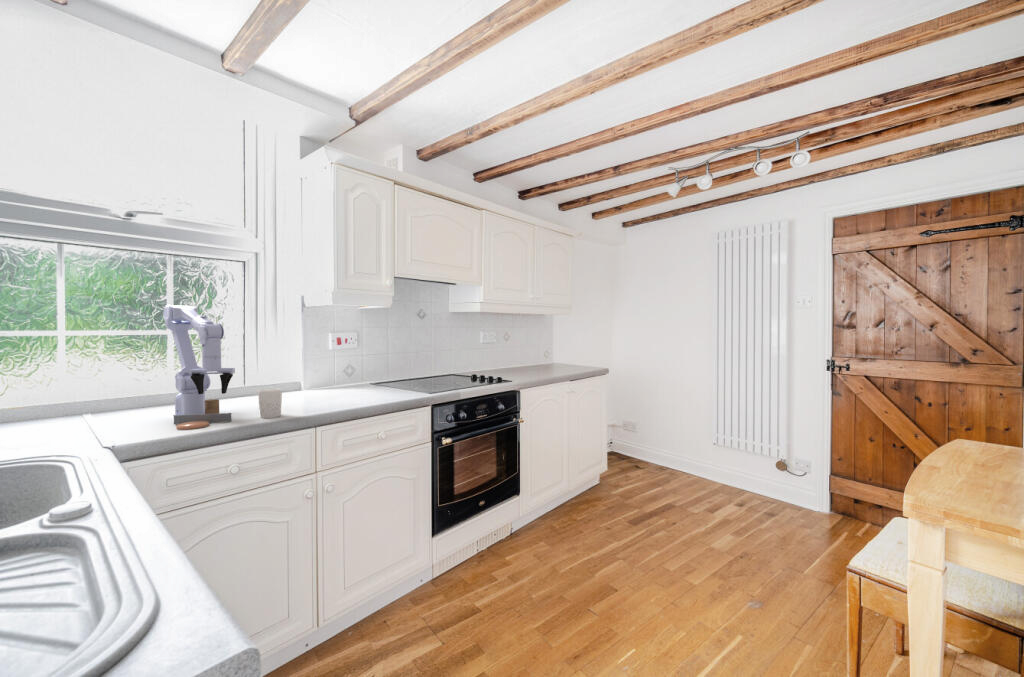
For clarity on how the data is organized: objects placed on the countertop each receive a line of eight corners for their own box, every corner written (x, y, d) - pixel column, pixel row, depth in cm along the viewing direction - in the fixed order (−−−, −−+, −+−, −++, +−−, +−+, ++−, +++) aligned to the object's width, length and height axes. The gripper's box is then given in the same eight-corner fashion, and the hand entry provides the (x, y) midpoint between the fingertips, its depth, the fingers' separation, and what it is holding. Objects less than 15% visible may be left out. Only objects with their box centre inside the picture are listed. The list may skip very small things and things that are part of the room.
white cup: (253, 417, 163) (253, 391, 163) (272, 413, 170) (272, 388, 170) (268, 419, 160) (267, 392, 160) (287, 415, 167) (286, 389, 167)
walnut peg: (202, 420, 160) (201, 400, 160) (212, 417, 164) (212, 399, 164) (211, 420, 159) (211, 401, 159) (222, 418, 163) (222, 399, 163)
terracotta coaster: (169, 429, 145) (169, 426, 145) (194, 423, 154) (194, 420, 154) (191, 430, 143) (191, 427, 143) (215, 424, 152) (215, 421, 152)
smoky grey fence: (173, 424, 153) (173, 415, 153) (175, 423, 154) (175, 415, 154) (230, 421, 156) (230, 413, 156) (231, 421, 157) (231, 412, 157)
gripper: (183, 357, 156) (184, 395, 156) (228, 357, 158) (229, 394, 159) (193, 356, 162) (194, 393, 163) (236, 355, 165) (237, 391, 166)
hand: (212, 393), depth 161 cm, fingers open, 7 cm apart
